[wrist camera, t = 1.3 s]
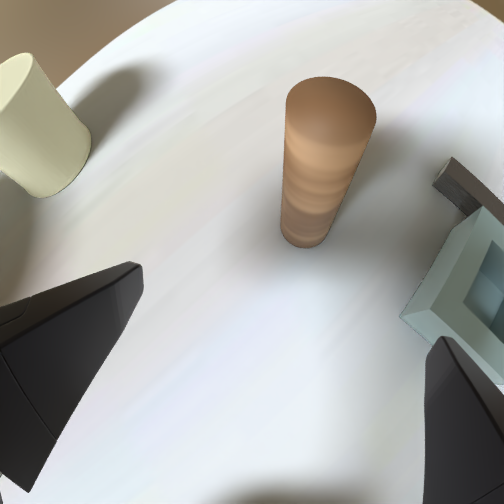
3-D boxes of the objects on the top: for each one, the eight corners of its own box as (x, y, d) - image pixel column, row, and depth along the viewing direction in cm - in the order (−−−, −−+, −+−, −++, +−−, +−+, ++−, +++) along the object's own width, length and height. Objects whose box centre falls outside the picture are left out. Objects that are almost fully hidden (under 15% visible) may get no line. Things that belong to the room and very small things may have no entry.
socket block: (472, 381, 19) (509, 385, 14) (399, 316, 21) (429, 308, 17) (515, 293, 21) (551, 281, 16) (451, 229, 23) (483, 205, 18)
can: (34, 135, 29) (-24, 74, 17) (98, 113, 29) (45, 33, 17) (17, 206, 26) (-60, 152, 15) (85, 188, 26) (7, 111, 15)
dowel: (330, 247, 23) (385, 144, 11) (281, 249, 23) (290, 143, 11) (325, 202, 24) (365, 79, 12) (279, 203, 24) (282, 76, 12)
